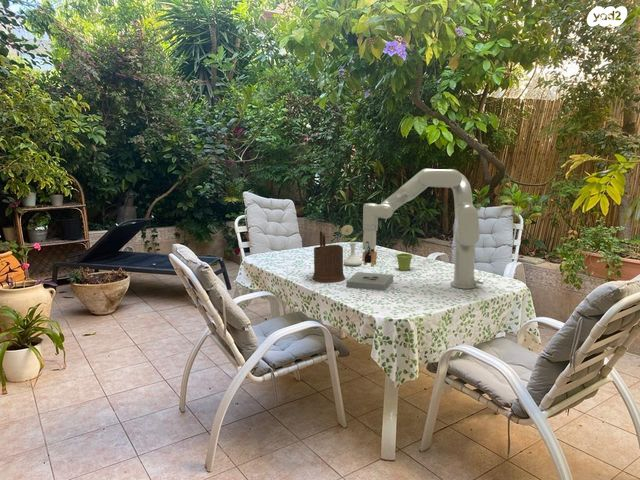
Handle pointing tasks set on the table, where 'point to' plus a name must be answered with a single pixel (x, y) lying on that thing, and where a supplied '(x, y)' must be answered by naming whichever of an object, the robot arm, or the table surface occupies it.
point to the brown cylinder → (328, 262)
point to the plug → (373, 258)
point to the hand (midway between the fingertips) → (369, 261)
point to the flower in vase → (352, 258)
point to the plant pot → (404, 261)
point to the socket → (370, 281)
